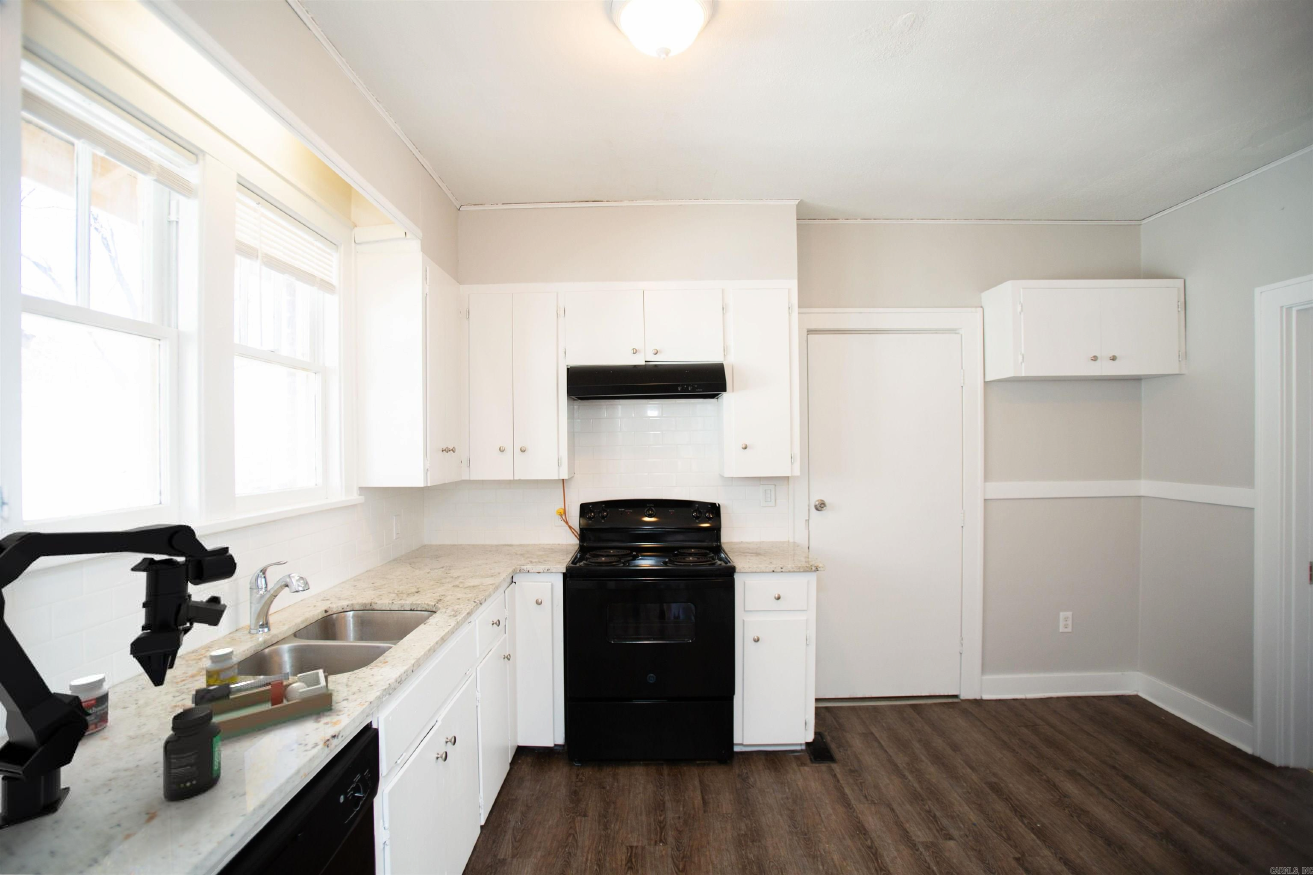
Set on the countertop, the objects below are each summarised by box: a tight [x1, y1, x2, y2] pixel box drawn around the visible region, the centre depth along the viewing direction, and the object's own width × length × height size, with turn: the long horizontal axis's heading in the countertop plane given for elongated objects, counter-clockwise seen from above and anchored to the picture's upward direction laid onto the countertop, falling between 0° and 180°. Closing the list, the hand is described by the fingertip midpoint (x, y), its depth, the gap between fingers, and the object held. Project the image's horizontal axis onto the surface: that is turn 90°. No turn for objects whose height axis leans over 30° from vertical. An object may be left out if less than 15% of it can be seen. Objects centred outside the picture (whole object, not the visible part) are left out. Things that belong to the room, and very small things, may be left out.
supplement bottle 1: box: [162, 705, 222, 803], centre depth 81 cm, size 7×7×12 cm
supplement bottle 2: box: [205, 647, 239, 696], centre depth 113 cm, size 5×5×10 cm
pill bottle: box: [68, 673, 110, 736], centre depth 99 cm, size 6×6×10 cm
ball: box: [285, 682, 307, 702], centre depth 106 cm, size 4×4×4 cm
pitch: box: [182, 672, 333, 741], centre depth 102 cm, size 12×24×4 cm, turn 127°
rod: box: [191, 671, 290, 707], centre depth 101 cm, size 4×15×7 cm, turn 127°
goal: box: [296, 668, 326, 699], centre depth 108 cm, size 10×5×4 cm, turn 37°
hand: (164, 677), depth 93 cm, fingers open, 9 cm apart
